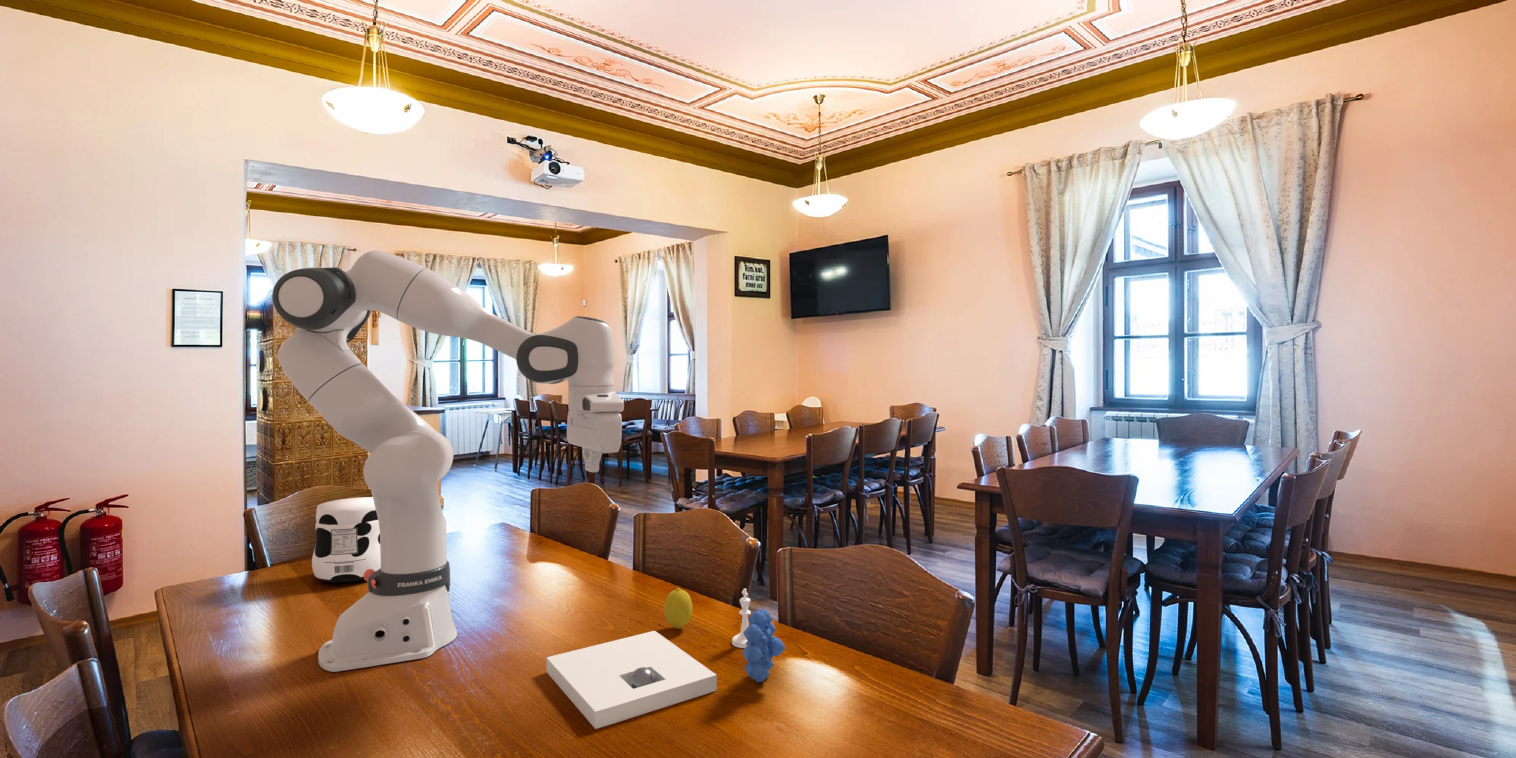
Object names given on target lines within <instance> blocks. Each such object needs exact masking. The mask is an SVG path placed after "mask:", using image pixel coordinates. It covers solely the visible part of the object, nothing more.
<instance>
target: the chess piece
mask: <svg viewBox="0 0 1516 758" xmlns="http://www.w3.org/2000/svg"><path fill="white" fill-rule="evenodd" d="M742 589H743V590H742V591H741V594H742V596H743V597H741V598H740V599H739V603H740V606H741V610H739V613H738V614H739V615H740V616H742V619H741V627H740V632H739V633H738V634H735V635H734V636H733V637H732V641H731V644H732V645H733V647H736V648H739V649H740V648H741V649H745V648H746V647H747V645H746V642H747V641H748V640H747V639H746V637H745V635H744V633H743V632H744V631H745V630H746V628H747V627H748V626H750V625H749V624H750V622H749V620H748V618H749V617H748V615H749V616H750V615H751V614H752V613H751V612H752V611H751V610H749V608H750V607H749V606H750V604H751V598H749V593H748V591H747V588H742Z"/></svg>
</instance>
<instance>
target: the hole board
mask: <svg viewBox="0 0 1516 758" xmlns="http://www.w3.org/2000/svg"><path fill="white" fill-rule="evenodd" d="M545 662H546V673H547V675H548V676H549V677H550V678H551V679H552V681H554V682H555V684H556V685H557V686H558V687H559V689H560V690H561V691H562V692H563V693H564V694H565V696H567V698H568V699H569V700H570V701H571V702H572V704H573V705H574V706H575V707H576V709H578V711H579V712H580V713H581V714H582V715H583V717H584V718H585V719H586V720H587V721H588V722H589V724H591V726H592V727H593V728H594V729H595V730H598V729H601V728H604V727H606V726H610V725H614V724H616V723H620V722H623V721H626V720H629V719H632V718H634V717H638V716H642V715H644V714H647V713H650V712H651V713H652V712H653V711H657V710H660V709H664V708H667V707H670V706H673V705H676V704H679V703H681V702H686V701H688V700H691V699H694V698H698V697H700V696H704V695H707V694H711V693H713V692H717V691H718V687H717V685H718V684H717V683H718V680H717V679H718V677H717V674H716V673H715V672H713V671H712V670H710V668H708V667H707V666H705V665H704V664H702V663H701V662H699V661H698V660H696V659H695V658H694V657H692V656H691V655H690V654H688V653H687V652H685V651H684V650H682V649H681V648H680V647H678V646H677V645H676V644H675V643H673V642H671V641H670V640H668V639H667V638H666V637H664V636H663V635H662V634H661V633H658V632H657V631H656V630H652V631H648V632H647V631H646V632H643V633H639V634H636V635H632V636H628V637H624V638H623V637H622V638H619V639H615V640H611V641H607V642H603V643H600V644H594V645H590V646H588V647H583V648H579V649H574V650H570V651H567V652H562V653H559V654H554V655H551V656H547V657H546V661H545ZM641 667H646V668H649V669H650V670H652V672H653V673H654V675H655V683H652V684H648V685H645V686H642V687H638V688H635V689H633V688H632V687H631V686H630V677H631V675H632V673H633V672H634V671H635V670H636V669H638V668H641Z"/></svg>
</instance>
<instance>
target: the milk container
mask: <svg viewBox="0 0 1516 758" xmlns="http://www.w3.org/2000/svg"><path fill="white" fill-rule="evenodd" d="M311 567H312V568H311V569H312V572H313V575H314V576H315V578H316V579H318V580H320V581H322V582H326V583H350V582H351V583H352V582H353V583H354V582H359V581H365V579H364V576H363V575H365V574H364V572H365V571H366V570H368V569H373V570H374V571H375V572H376V571H377V570H379V569H380V568H381V555H380V529H379V522H378V517H377V512H376V508H375V504H374V500H373V496H370V497H369V496H368V497H367V496H363V497H351V498H350V497H349V498H341V499H335V500H330V501H325V502H323V503H319V504H317V506H316V512H315V546H314V550H313V554H312V557H311Z"/></svg>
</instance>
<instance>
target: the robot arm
mask: <svg viewBox="0 0 1516 758" xmlns="http://www.w3.org/2000/svg"><path fill="white" fill-rule="evenodd" d="M271 298H272V303H273V306H274V309H275V310H276V312H277V314H278V315H279V316H280V317H281V318H282V319H283V320H285V322H286V323H288V324H290V325H291V326H293V327H295V330H294V331H293V334H292V335H290V336H289V337H288V338H286V340H284V341H283V343H282V344H281V346H280V347H279V349H278V351H277V361H278V364H279V365H280V367H281V368H282V371H283V372H284V374H285V375H286V377H287V378H288V379H289V381H290V382H291V383H292V385H293V386H294V388H295V389H296V390H297V391H298V392H299V393H300V394H301V396H302V397H303V398H304V399H305V400H306V401H307V402H308V403H309V405H310V406H311V407H313V409H314V410H315V411H316V412H317V413H318V414H319V415H320V416H321V417H322V419H324V420H325V421H326V422H327V423H328V424H329V425H330V426H331V427H332V428H333V429H334V430H335V431H336V432H337V433H338V434H339V435H340V436H341V437H342V438H344V439H347V440H349V441H350V442H352V443H354V444H356V445H357V446H359V447H360V448H362V449H363V450H365V451H366V452H367V453H369V455H368V457H367V458H366V459H365V462H364V464H363V465H364V466H363V468H362V469H363V472H362V475H363V479H364V482H365V483H366V486H367V487H368V488H369V490H370V491H371V495H372V496H371V497H373V500H374V504H375V508H376V512H377V517H378V522H379V529H380V555H381V568H380V569H379V570H377V571H376V572H375V571H374V570H373V569H368V570H366V571H365V572H364V574H365V575H363V576H364V581H366V582H367V585H368V588H367V590H368V592H367V593H365V595H363V596H362V597H361V598H359V599H357V601H355V603H353V604H352V605H351V606H350V607H348V608H347V609H345V611H343V612H342V613H341V614H340V616H339V617H338V619H337V620H336V623H335V626H334V629H333V633H332V639H330V640H327V641H326V642H325V643H323V644H322V646H321V647H320V648H319V650H318V654H317V663H318V665H319V666H320V668H321V669H323V670H324V671H327V672H332V673H335V672H343V671H349V670H350V671H351V670H355V669H356V670H357V669H363V668H368V667H375V666H380V665H381V666H382V665H387V664H394V663H401V662H406V661H407V662H408V661H413V660H419V659H420V660H421V659H425V658H428V657H429V656H431V655H432V654H434V653H435V652H436V651H437V650H439V649H441V648H442V647H445V646H446V645H448V644H450V643H452V642H453V641H454V640H455V639H456V638H457V637H458V630H457V628H456V624H455V622H454V618H453V614H452V609H451V602H450V601H451V600H450V595H449V592H450V590H451V589H450V588H451V567H450V562H449V561H448V559H447V553H448V550H447V547H448V546H447V519H446V518H445V516H444V512H443V510H442V505H441V501H440V497H439V496H440V495H439V487H438V486H439V485H438V484H439V482H440V481H441V480H442V479H443V478H445V476H447V474H448V473H449V471H450V469H451V468H452V465H453V463H454V461H453V460H454V453H455V452H454V447H453V446H452V443H451V441H450V440H449V439H448V438H447V437H446V436H444V434H442V433H440V432H439V431H437V429H435V428H433V427H432V426H431V425H430V424H429V423H428V421H425V420H424V419H423V418H422V417H421V416H420V415H418V414H417V413H416V412H415V411H413V410H412V409H411V408H409V407H408V406H407V405H406V404H404V403H403V402H402V401H400V399H398V398H397V397H396V396H395V395H394V394H393V393H392V392H391V391H390V390H389V389H388V388H387V387H386V386H385V385H384V383H382V382H381V381H380V380H379V378H377V376H376V375H375V374H374V373H373V372H372V371H371V370H370V369H369V368H368V367H367V366H366V364H364V363H363V362H362V360H360V358H359V357H358V356H356V354H354V352H353V351H352V350H351V348H349V347H350V346H349V345H348V343H351V342H352V341H354V339H355V337H356V336H357V334H358V333H359V332H360V330H361V329H362V328H363V326H364V325H366V323H367V322H368V320H369V318H370V316H371V313H372V311H376V312H378V313H382V314H384V315H385V316H388V317H391V318H393V319H394V320H396V321H399V322H401V323H403V324H405V325H407V326H409V327H412V328H414V329H417V330H420V331H424V332H427V333H431V334H433V335H434V334H435V335H438V336H439V335H440V336H445V337H454V338H460V339H465V340H466V339H467V340H469V341H474V342H477V343H479V344H482V345H484V346H487V347H489V348H491V349H493V350H495V351H497V352H500V353H501V354H504V355H506V356H508V357H510V358H511V359H515V361H516V365H517V369H518V370H519V372H520V373H521V374H522V375H523V376H524V377H525V378H526V379H527V380H530V382H533V383H537V384H543V385H546V384H548V385H557V384H560V383H562V382H564V381H567V383H568V385H567V386H568V387H567V388H568V400H567V401H568V403H567V404H568V408H567V409H568V412H567V420H566V422H567V423H566V440H567V443H568V444H570V445H572V446H573V445H574V446H576V447H581V448H582V452H581V453H582V456H583V460H584V469H585V471H586V472H589V473H598V472H599V471H600V463H601V460H602V455H603V454H612V453H618V452H619V450H620V448H621V446H622V429H623V421H622V419H623V417H622V414H621V412H623V411H624V409H625V408H624V407H625V402H624V400H623V399H622V398H621V397H620V396H619V395H618V393H617V392H616V386H615V385H616V382H615V379H614V367H615V364H616V351H615V339H614V333H613V332H614V331H613V329H612V327H611V326H610V325H609V324H608V323H607V322H605V321H604V320H602V319H601V320H600V319H598V318H594V317H588V316H573V317H572V318H571V319H570V320H568V321H567V322H565V323H562V324H561V325H560V326H558V327H555V328H553V329H550V330H547V331H543V332H540V333H535V332H532V331H529V330H526V329H524V328H522V327H520V326H518V325H516V324H514V323H512V322H511V321H508V320H506V319H504V318H502V317H500V316H498V315H496V314H494V313H492V312H491V311H489V310H488V309H487V308H485V307H483V306H482V305H481V304H480V303H478V302H477V301H476V300H475V299H474V298H472V297H471V295H469V294H468V293H466V292H465V291H464V290H463V289H461V288H460V287H459V286H458V285H456V284H455V283H454V282H452V281H450V280H449V279H447V278H446V277H444V276H443V275H442V274H441V275H440V274H439V273H438V272H435V271H434V270H432V269H430V268H428V267H426V266H424V265H421V264H419V263H416V262H415V261H412V260H410V259H408V258H405V257H402V256H399V255H396V254H393V253H389V252H387V251H382V250H370V251H367V252H365V253H363V254H361V255H360V256H359V257H358V258H357V260H355V261H354V263H353V264H352V266H351V268H350V269H349V270H347V271H344V270H343V269H342V268H340V267H335V266H334V267H333V266H332V267H304V268H298V269H294V270H291V271H288V272H287V273H285V274H283V275H282V276H281V277H280V278H279V279H278V280H277V281H276V283H275V284H274V286H273V290H272V297H271Z"/></svg>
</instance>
